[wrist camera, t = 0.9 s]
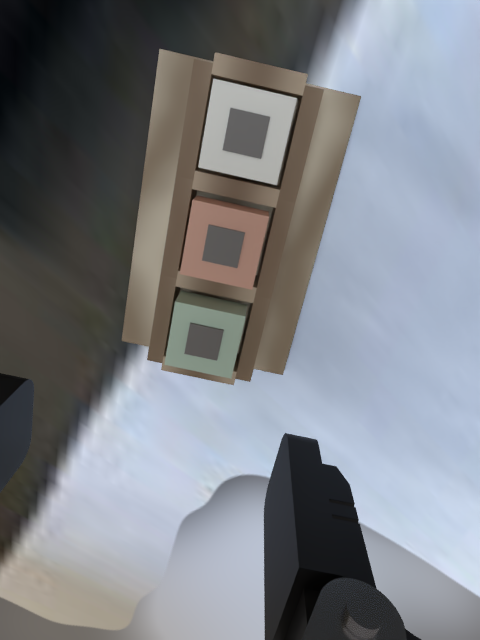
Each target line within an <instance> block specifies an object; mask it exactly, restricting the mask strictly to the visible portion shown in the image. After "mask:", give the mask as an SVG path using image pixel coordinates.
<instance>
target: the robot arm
mask: <svg viewBox="0 0 480 640" xmlns="http://www.w3.org/2000/svg"><path fill="white" fill-rule="evenodd" d="M33 398H34V384H33V382H32V380H30V379H25V378H20V377H16V376H11V375H6V374H1V373H0V492H1V491H2V489H3V488H4V487H5V485H6V484H7V483H8V481H9V480H10V479H11V477H12V476H13V475H14V473H15V472H16V471H17V469H18V468H19V467H20V465H21V464H22V462H23V460H24V458H25V456H26V454H27V452H28V449H29V446H30V442H31V434H32V416H33ZM358 520H359V519H358V515H357V512H356V508H355V507H354V500H353V496H352V492H351V488H350V485H349V483H348V482H347V480H346V479H345V478H344V476H343V475H342V474H341V472H340V471H339V469H338V468H337V467H336V466H331V465H326V464H322V460H321V455H320V450H319V444H318V441H317V440H316V439H311V438H306V437H301V436H296V435H292V434H287V433H285V434H284V436H283V438H282V441H281V444H280V447H279V451H278V454H277V457H276V461H275V464H274V467H273V471H272V474H271V477H270V481H269V484H268V488H267V493H266V499H265V506H264V578H265V579H264V583H265V584H264V586H265V640H421V639H419V638H418V637H416V636H414V635H413V634H411V633H410V632H409V631H407V630H406V629H405V627H404V623H403V621H402V619H401V617H400V615H399V613H398V611H397V610H396V608H395V607H394V606H393V604H392V603H391V602H390V601H389V599H388V598H387V597H386V596H385V595H383V594H382V593H381V592H380V591H379V590H377V589H376V585H375V581H374V577H373V574H372V570H371V566H370V562H369V558H368V554H367V550H366V547H365V543H364V539H363V535H362V531H361V527H360V524H358Z"/></svg>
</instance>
